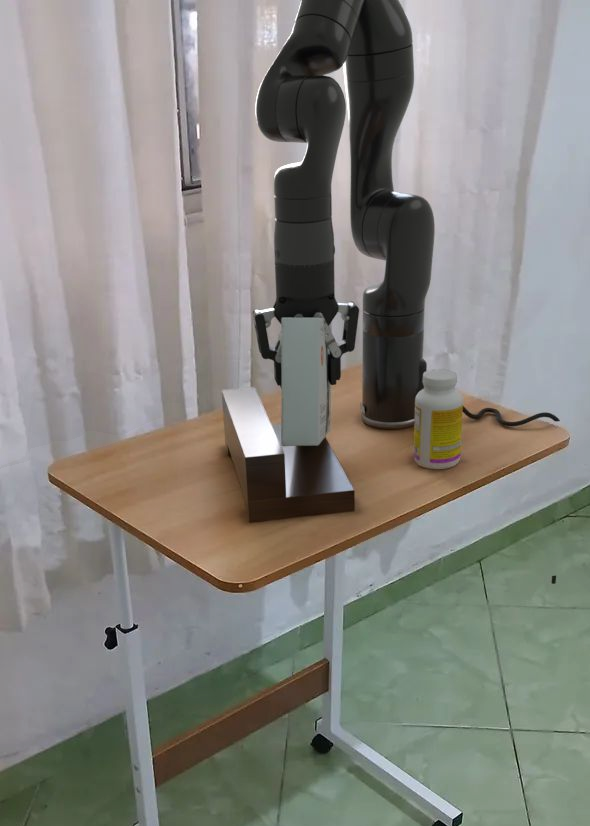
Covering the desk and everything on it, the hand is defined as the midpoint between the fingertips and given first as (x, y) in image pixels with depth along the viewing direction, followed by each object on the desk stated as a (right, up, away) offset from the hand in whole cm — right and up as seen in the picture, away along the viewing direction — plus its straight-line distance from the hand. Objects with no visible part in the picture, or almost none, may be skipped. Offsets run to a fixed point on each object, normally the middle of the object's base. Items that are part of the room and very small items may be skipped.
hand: (307, 385), depth 138 cm
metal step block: (-3, -11, +6) cm, 13 cm away
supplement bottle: (+19, -9, +9) cm, 23 cm away
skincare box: (0, -7, +3) cm, 7 cm away
